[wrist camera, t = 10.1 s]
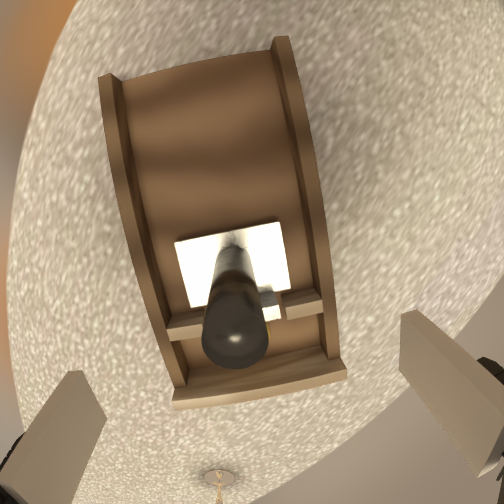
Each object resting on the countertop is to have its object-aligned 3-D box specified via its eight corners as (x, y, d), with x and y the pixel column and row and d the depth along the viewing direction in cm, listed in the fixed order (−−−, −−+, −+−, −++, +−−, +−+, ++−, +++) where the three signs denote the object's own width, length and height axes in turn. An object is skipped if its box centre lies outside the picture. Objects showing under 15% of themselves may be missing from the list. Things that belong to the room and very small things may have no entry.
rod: (176, 240, 28) (127, 300, 14) (277, 220, 28) (321, 263, 14) (195, 315, 29) (172, 416, 16) (290, 296, 29) (333, 388, 16)
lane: (114, 89, 25) (88, 71, 19) (281, 52, 25) (292, 25, 19) (183, 374, 32) (175, 410, 26) (329, 346, 33) (347, 378, 27)
